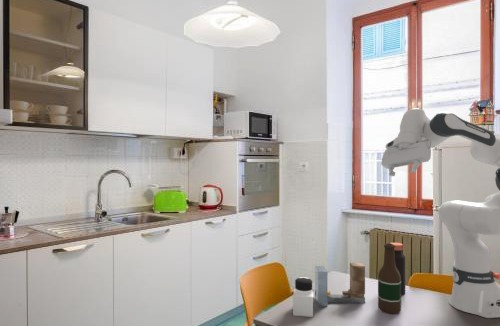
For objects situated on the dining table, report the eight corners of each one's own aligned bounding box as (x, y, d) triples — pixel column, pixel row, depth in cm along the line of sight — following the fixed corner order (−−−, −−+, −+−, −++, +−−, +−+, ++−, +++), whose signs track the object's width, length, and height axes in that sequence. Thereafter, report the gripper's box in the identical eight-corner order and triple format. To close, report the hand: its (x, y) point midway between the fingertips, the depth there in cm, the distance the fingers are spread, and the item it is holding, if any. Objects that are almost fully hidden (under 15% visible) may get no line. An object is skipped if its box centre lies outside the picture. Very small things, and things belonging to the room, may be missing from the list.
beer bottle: (390, 316, 118) (390, 247, 118) (373, 308, 124) (373, 243, 124) (406, 312, 121) (405, 245, 121) (388, 304, 128) (388, 240, 128)
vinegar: (384, 289, 142) (384, 242, 142) (398, 288, 144) (398, 241, 144) (394, 295, 136) (394, 246, 136) (409, 294, 138) (409, 245, 137)
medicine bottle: (313, 317, 117) (313, 283, 117) (292, 315, 118) (292, 281, 118) (313, 308, 124) (313, 276, 124) (294, 307, 125) (294, 275, 125)
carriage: (361, 293, 133) (361, 262, 133) (365, 297, 128) (364, 266, 128) (341, 293, 133) (341, 262, 133) (344, 297, 128) (344, 266, 128)
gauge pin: (329, 294, 132) (329, 290, 132) (330, 295, 130) (330, 291, 130) (316, 294, 132) (316, 290, 132) (317, 295, 130) (317, 291, 130)
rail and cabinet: (362, 299, 132) (362, 266, 132) (368, 306, 125) (367, 272, 125) (314, 298, 133) (314, 265, 133) (318, 306, 126) (318, 271, 126)
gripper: (437, 142, 128) (431, 174, 124) (392, 152, 146) (386, 180, 141) (426, 133, 126) (420, 166, 121) (382, 145, 144) (375, 173, 139)
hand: (401, 174), depth 131 cm, fingers open, 8 cm apart
